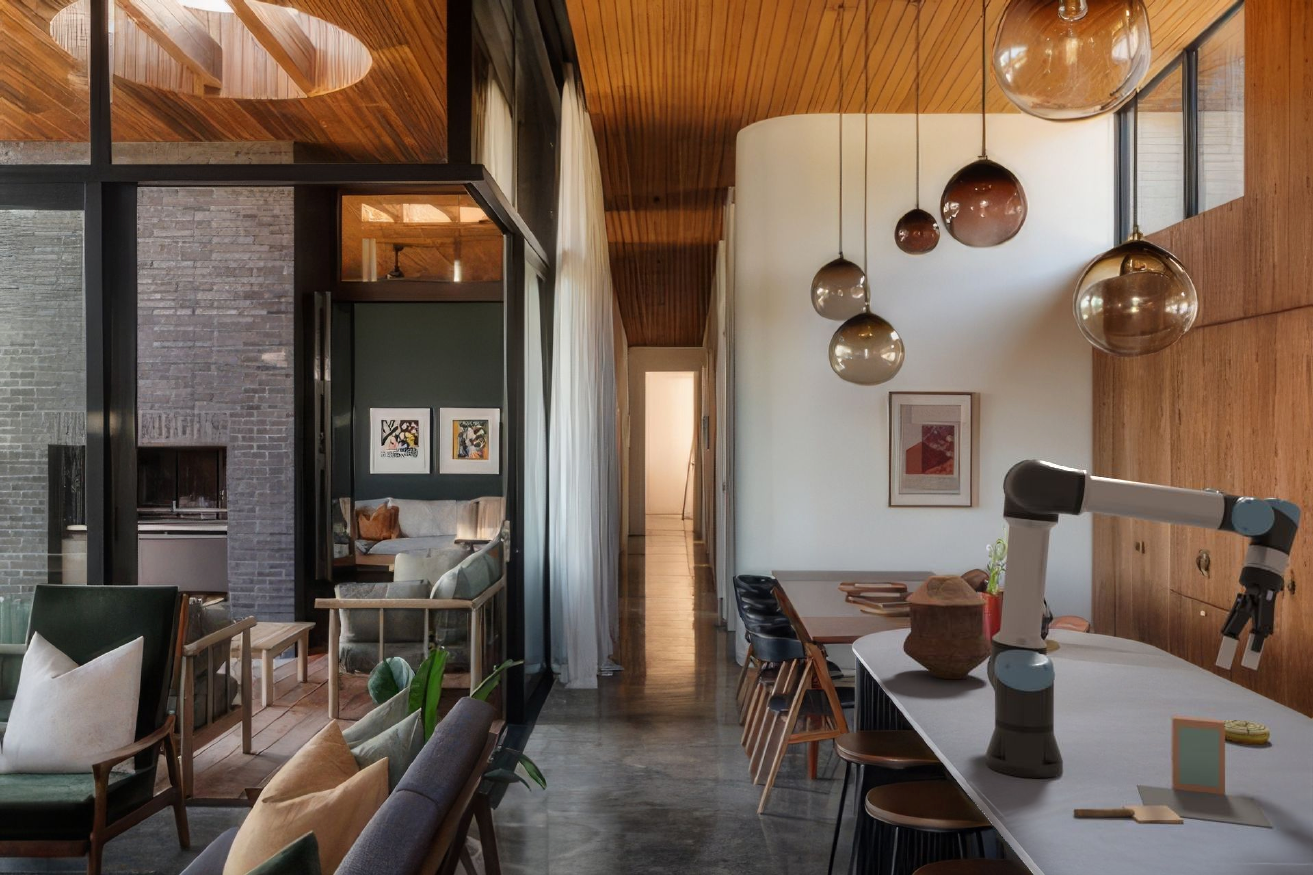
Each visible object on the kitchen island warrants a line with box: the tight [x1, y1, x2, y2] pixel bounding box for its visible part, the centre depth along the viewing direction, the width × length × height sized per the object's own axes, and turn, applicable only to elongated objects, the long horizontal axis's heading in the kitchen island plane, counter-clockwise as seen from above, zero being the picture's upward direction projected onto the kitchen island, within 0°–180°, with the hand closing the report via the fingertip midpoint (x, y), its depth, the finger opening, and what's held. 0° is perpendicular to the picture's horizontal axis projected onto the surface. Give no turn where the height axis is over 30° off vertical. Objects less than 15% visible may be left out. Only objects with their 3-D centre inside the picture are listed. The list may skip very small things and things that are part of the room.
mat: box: [1136, 784, 1274, 829], centre depth 185 cm, size 20×16×1 cm
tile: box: [1170, 715, 1226, 795], centre depth 195 cm, size 9×2×14 cm, turn 70°
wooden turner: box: [1073, 805, 1184, 824], centre depth 180 cm, size 18×6×1 cm, turn 90°
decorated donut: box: [1223, 719, 1271, 745], centre depth 231 cm, size 10×11×4 cm
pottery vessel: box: [902, 574, 992, 680], centre depth 295 cm, size 26×26×30 cm
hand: (1235, 667), depth 205 cm, fingers open, 13 cm apart
